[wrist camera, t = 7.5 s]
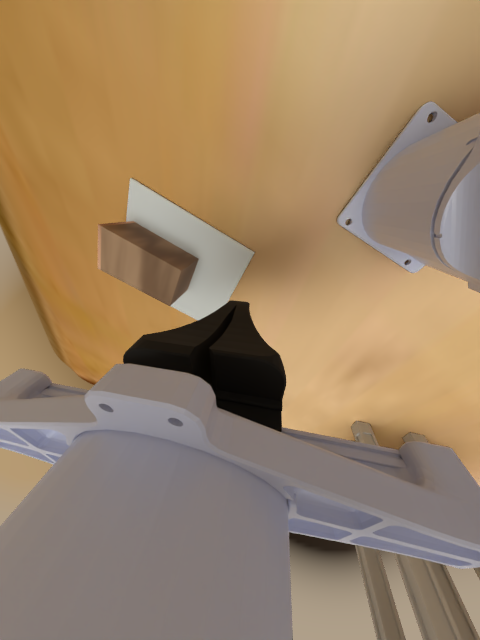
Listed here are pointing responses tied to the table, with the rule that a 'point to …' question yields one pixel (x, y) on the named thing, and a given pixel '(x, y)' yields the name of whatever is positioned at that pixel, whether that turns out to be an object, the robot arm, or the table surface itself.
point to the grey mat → (192, 249)
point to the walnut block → (145, 260)
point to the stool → (412, 584)
